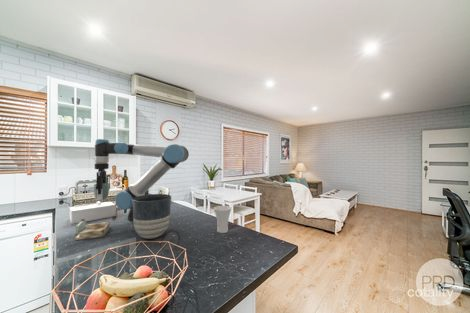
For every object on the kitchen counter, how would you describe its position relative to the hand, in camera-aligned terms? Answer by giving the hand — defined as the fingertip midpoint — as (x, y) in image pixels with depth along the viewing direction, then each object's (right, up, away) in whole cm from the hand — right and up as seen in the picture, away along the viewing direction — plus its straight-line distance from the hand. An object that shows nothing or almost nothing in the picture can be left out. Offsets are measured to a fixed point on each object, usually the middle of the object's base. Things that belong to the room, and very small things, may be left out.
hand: (101, 197), depth 125 cm
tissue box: (-16, -18, +14) cm, 28 cm away
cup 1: (0, -1, 0) cm, 1 cm away
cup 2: (+80, -17, -12) cm, 82 cm away
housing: (+6, -17, -16) cm, 24 cm away
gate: (-4, -17, -12) cm, 21 cm away
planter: (+42, -17, -21) cm, 50 cm away
